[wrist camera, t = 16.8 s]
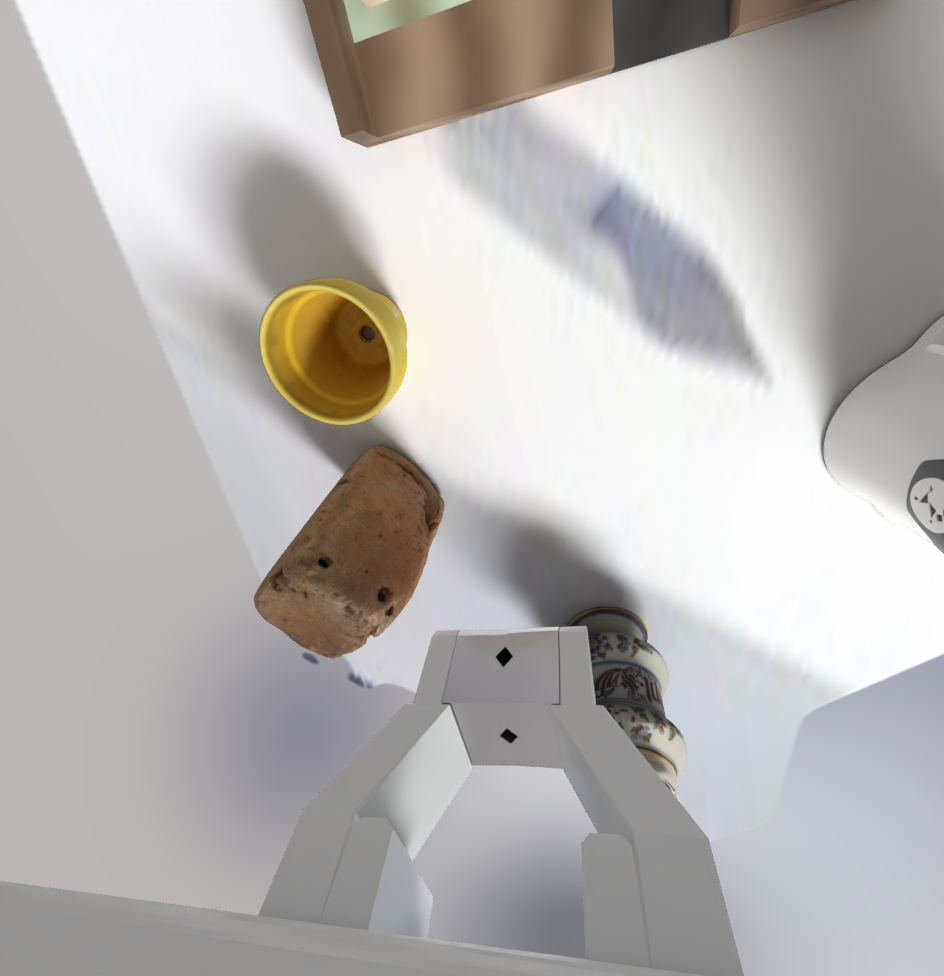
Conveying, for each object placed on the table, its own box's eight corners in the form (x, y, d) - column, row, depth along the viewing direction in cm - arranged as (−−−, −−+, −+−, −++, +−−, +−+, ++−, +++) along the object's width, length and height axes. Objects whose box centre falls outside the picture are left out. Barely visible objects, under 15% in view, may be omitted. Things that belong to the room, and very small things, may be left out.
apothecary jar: (574, 674, 60) (583, 830, 44) (542, 611, 55) (539, 762, 40) (668, 658, 56) (713, 824, 40) (642, 589, 51) (682, 748, 36)
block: (342, 475, 49) (232, 610, 32) (379, 430, 45) (278, 555, 28) (419, 534, 52) (355, 688, 35) (460, 496, 48) (411, 646, 31)
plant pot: (372, 407, 44) (331, 450, 36) (294, 320, 41) (229, 345, 33) (451, 343, 40) (425, 375, 32) (371, 239, 37) (318, 244, 28)
